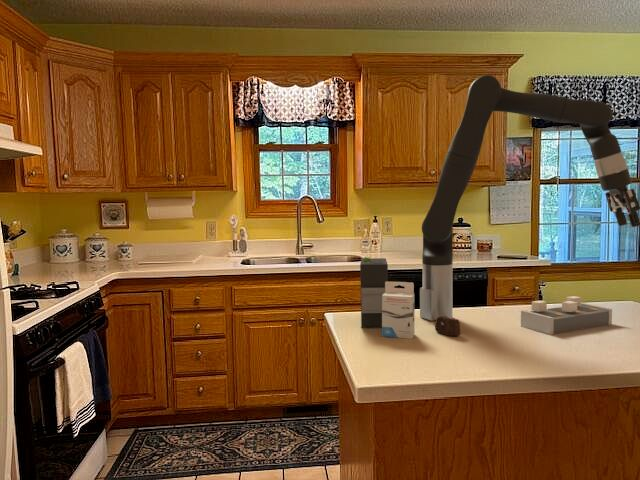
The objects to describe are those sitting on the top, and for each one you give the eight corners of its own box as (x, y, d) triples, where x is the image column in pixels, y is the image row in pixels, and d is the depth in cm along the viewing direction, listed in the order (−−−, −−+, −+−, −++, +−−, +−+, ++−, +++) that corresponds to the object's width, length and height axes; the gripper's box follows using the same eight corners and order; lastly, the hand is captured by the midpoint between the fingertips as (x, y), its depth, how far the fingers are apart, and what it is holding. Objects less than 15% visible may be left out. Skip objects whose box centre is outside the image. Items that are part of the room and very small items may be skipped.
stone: (434, 332, 139) (433, 314, 139) (441, 330, 141) (441, 313, 140) (455, 338, 133) (455, 320, 132) (462, 336, 134) (462, 318, 134)
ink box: (381, 337, 135) (380, 284, 134) (384, 332, 140) (384, 281, 139) (412, 339, 132) (412, 285, 131) (415, 334, 137) (414, 282, 136)
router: (386, 315, 161) (385, 254, 160) (388, 329, 143) (387, 261, 142) (361, 314, 162) (361, 254, 160) (361, 329, 144) (360, 261, 142)
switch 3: (569, 312, 140) (569, 303, 140) (561, 310, 143) (562, 301, 142) (577, 310, 142) (577, 302, 141) (569, 309, 144) (569, 300, 144)
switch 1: (538, 311, 142) (538, 303, 141) (531, 309, 144) (531, 301, 144) (546, 310, 143) (546, 302, 143) (539, 308, 145) (539, 300, 145)
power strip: (550, 334, 134) (550, 318, 133) (520, 326, 143) (521, 310, 143) (611, 324, 143) (612, 308, 143) (580, 316, 153) (580, 302, 152)
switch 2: (573, 306, 147) (573, 298, 147) (566, 305, 149) (566, 297, 149) (580, 305, 148) (580, 297, 148) (573, 304, 151) (573, 296, 150)
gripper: (589, 177, 148) (606, 228, 148) (608, 174, 134) (626, 230, 134) (615, 169, 147) (632, 221, 147) (637, 165, 133) (655, 222, 133)
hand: (629, 225), depth 140 cm, fingers open, 8 cm apart
